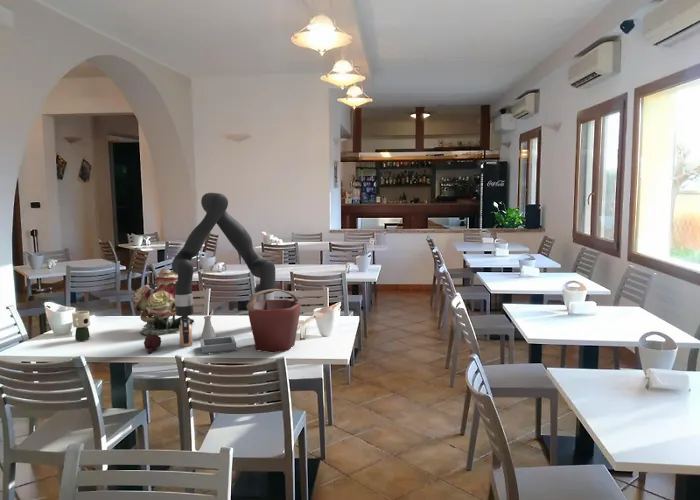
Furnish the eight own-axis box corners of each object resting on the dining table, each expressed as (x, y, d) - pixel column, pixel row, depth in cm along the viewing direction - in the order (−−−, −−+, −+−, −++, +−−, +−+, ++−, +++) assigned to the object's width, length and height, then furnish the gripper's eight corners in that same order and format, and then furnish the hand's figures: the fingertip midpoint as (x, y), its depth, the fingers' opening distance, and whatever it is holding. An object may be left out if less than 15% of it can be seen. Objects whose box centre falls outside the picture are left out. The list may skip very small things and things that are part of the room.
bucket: (251, 357, 233) (249, 297, 230) (239, 343, 253) (237, 287, 250) (308, 349, 242) (307, 291, 239) (292, 336, 263) (291, 283, 260)
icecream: (147, 330, 252) (135, 343, 238) (163, 326, 252) (152, 338, 237) (152, 345, 254) (141, 358, 239) (168, 340, 253) (157, 353, 239)
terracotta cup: (192, 343, 255) (191, 323, 253) (192, 346, 250) (191, 325, 249) (180, 344, 253) (179, 324, 252) (180, 347, 248) (179, 327, 247)
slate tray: (233, 343, 252) (233, 336, 252) (236, 351, 241) (236, 343, 241) (200, 346, 248) (200, 339, 248) (202, 354, 237) (201, 346, 237)
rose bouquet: (133, 326, 286) (130, 267, 282) (194, 321, 295) (191, 263, 292) (131, 339, 262) (127, 275, 258) (197, 333, 271) (194, 270, 267)
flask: (212, 340, 259) (211, 318, 257) (197, 339, 260) (196, 318, 259) (219, 336, 266) (218, 315, 264) (204, 335, 267) (203, 314, 266)
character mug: (85, 343, 257) (82, 315, 255) (69, 343, 257) (67, 315, 255) (95, 336, 267) (94, 309, 266) (80, 337, 267) (78, 309, 266)
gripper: (193, 306, 243) (195, 345, 245) (192, 299, 257) (194, 336, 259) (175, 307, 241) (177, 347, 243) (175, 301, 255) (177, 338, 257)
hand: (186, 341), depth 251 cm, fingers closed on terracotta cup, 5 cm apart
